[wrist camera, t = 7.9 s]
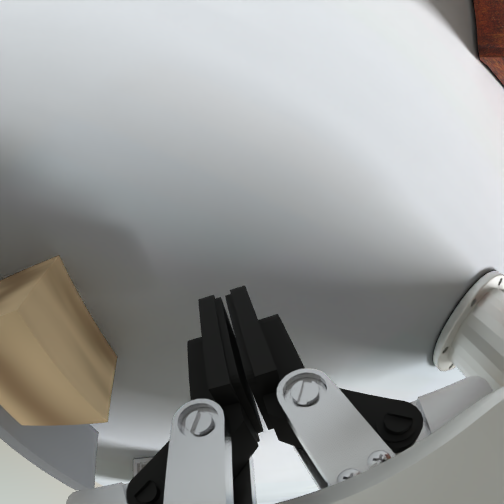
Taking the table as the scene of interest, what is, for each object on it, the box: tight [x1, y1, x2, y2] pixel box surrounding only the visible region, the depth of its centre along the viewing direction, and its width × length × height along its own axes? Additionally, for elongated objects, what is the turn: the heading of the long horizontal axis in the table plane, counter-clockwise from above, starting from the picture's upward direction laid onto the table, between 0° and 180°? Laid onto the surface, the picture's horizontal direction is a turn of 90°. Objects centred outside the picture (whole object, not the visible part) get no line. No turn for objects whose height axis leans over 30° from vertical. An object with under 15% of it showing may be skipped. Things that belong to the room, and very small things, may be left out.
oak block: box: [0, 255, 117, 426], centre depth 11 cm, size 7×7×5 cm
